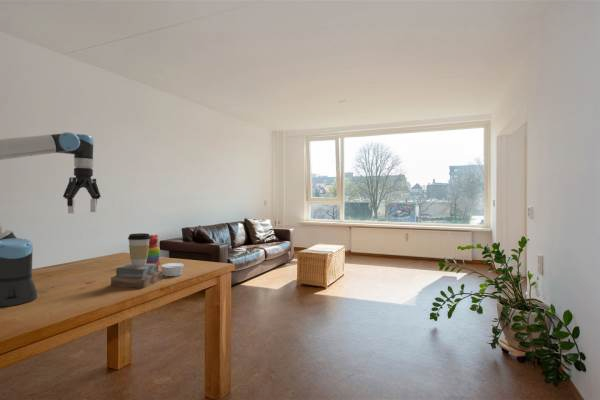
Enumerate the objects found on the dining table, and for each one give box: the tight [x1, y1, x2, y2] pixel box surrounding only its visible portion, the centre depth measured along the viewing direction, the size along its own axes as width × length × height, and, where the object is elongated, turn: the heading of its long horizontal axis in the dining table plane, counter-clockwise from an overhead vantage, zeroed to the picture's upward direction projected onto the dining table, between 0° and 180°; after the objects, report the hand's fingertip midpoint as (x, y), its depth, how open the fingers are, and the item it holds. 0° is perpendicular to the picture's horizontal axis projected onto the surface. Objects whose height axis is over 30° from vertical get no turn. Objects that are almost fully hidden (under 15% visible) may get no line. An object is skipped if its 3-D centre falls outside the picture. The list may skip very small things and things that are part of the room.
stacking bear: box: [146, 234, 161, 266], centre depth 199 cm, size 11×10×18 cm
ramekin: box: [160, 262, 185, 277], centre depth 176 cm, size 11×11×5 cm
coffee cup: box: [127, 232, 150, 267], centre depth 159 cm, size 10×10×15 cm
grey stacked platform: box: [110, 263, 164, 289], centre depth 159 cm, size 16×16×8 cm
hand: (82, 212), depth 158 cm, fingers open, 13 cm apart
